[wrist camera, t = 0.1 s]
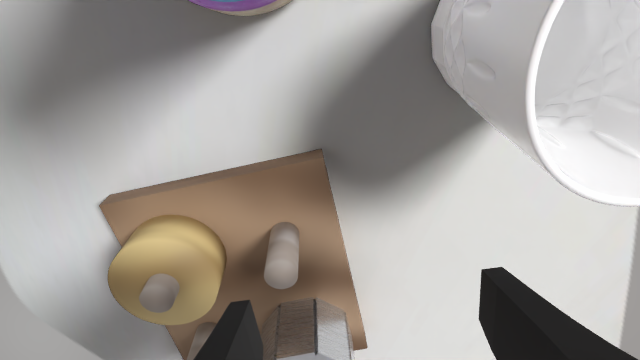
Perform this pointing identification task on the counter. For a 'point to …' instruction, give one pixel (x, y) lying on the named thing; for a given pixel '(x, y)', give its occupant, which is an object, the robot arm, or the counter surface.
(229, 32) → the counter surface
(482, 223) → the counter surface
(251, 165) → the board
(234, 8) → the stacking toy
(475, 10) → the white cup
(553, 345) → the robot arm
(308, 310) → the gear ring
